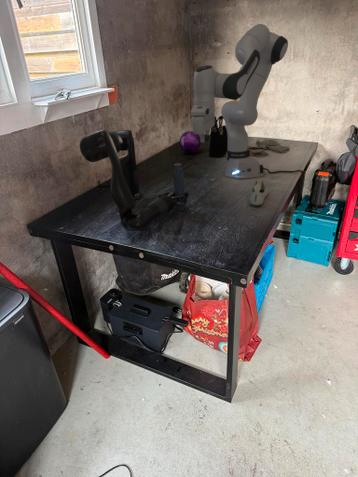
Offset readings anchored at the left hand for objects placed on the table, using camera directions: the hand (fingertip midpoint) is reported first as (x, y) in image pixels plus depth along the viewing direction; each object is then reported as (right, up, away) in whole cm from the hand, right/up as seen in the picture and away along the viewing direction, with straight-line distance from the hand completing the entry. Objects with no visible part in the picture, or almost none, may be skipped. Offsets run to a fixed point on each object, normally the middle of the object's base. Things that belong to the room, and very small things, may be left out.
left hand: (182, 193), depth 152 cm
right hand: (+10, +24, -3) cm, 26 cm away
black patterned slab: (+27, +38, +76) cm, 89 cm away
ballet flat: (+37, -1, +8) cm, 38 cm away
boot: (+27, +52, +100) cm, 115 cm away
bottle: (-1, -7, +1) cm, 7 cm away
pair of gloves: (+56, +40, +77) cm, 103 cm away
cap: (+10, +25, -4) cm, 27 cm away
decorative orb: (+6, +40, +81) cm, 91 cm away
